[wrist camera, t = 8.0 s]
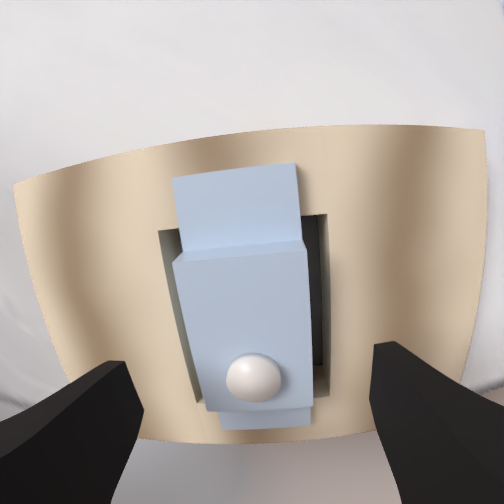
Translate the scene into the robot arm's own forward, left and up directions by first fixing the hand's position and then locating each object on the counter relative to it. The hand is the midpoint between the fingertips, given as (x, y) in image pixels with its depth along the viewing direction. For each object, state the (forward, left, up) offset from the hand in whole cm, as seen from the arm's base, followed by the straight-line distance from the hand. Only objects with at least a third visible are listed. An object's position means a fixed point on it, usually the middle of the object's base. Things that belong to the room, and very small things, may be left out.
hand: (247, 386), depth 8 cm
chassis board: (0, 0, -6) cm, 6 cm away
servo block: (0, 0, -6) cm, 6 cm away
